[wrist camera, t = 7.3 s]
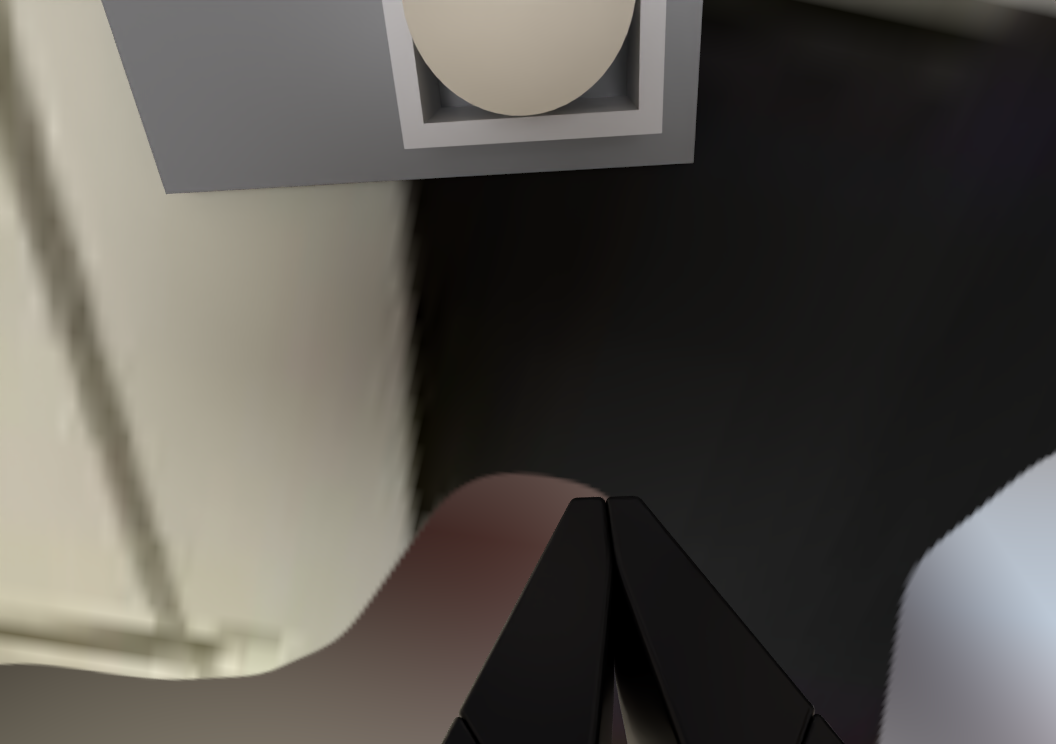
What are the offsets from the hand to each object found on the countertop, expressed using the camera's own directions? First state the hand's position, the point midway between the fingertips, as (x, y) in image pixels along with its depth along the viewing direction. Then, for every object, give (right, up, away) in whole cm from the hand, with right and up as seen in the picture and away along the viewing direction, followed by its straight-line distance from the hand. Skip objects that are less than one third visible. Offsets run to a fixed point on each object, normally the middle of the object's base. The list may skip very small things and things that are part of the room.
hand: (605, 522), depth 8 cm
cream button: (-1, +10, +5) cm, 11 cm away
